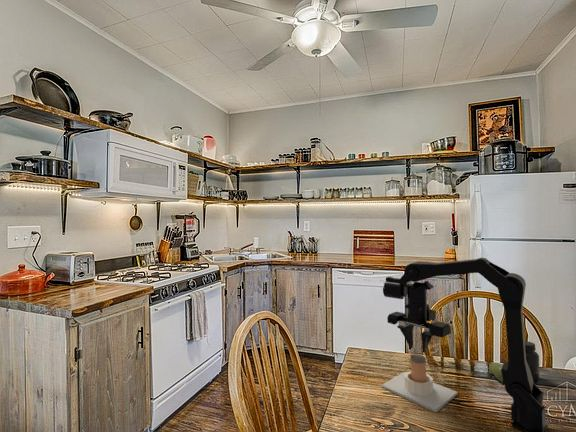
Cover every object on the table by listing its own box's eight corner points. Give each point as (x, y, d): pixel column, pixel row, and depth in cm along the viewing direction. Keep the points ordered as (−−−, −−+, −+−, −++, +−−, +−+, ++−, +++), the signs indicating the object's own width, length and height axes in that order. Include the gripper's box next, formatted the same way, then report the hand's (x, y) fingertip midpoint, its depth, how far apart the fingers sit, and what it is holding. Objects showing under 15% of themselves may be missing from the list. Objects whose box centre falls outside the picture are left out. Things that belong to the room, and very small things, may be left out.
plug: (429, 388, 103) (428, 357, 103) (422, 393, 100) (421, 361, 100) (415, 383, 106) (415, 353, 106) (408, 388, 103) (408, 356, 104)
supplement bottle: (544, 384, 106) (543, 347, 106) (520, 382, 107) (520, 346, 107) (532, 374, 113) (532, 339, 113) (511, 372, 114) (510, 338, 114)
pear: (498, 367, 106) (483, 359, 116) (501, 385, 105) (485, 375, 115) (516, 368, 106) (499, 359, 116) (519, 385, 105) (501, 375, 115)
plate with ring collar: (457, 394, 101) (457, 380, 101) (436, 412, 92) (435, 397, 92) (404, 373, 115) (404, 361, 115) (381, 387, 106) (381, 374, 106)
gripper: (458, 302, 101) (459, 352, 101) (404, 292, 116) (404, 336, 116) (441, 309, 94) (442, 363, 94) (386, 297, 109) (386, 344, 109)
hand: (417, 350), depth 103 cm, fingers open, 4 cm apart
